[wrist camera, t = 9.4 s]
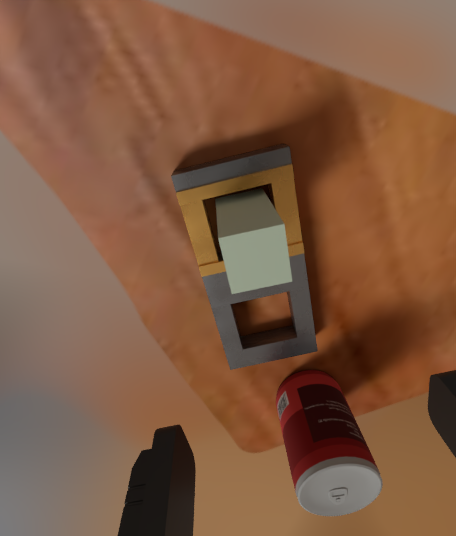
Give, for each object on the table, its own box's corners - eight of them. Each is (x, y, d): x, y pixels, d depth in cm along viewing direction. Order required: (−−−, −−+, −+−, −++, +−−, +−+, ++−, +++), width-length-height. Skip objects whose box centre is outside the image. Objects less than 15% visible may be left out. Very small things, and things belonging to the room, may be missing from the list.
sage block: (262, 188, 27) (284, 223, 19) (269, 232, 29) (292, 281, 21) (215, 198, 28) (218, 238, 20) (225, 241, 29) (231, 294, 21)
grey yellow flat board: (283, 143, 26) (289, 146, 24) (311, 338, 35) (318, 352, 33) (173, 171, 26) (170, 176, 24) (229, 356, 35) (230, 371, 33)
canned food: (288, 424, 41) (313, 525, 31) (263, 382, 37) (283, 482, 28) (347, 403, 40) (392, 502, 30) (327, 358, 36) (371, 453, 26)
